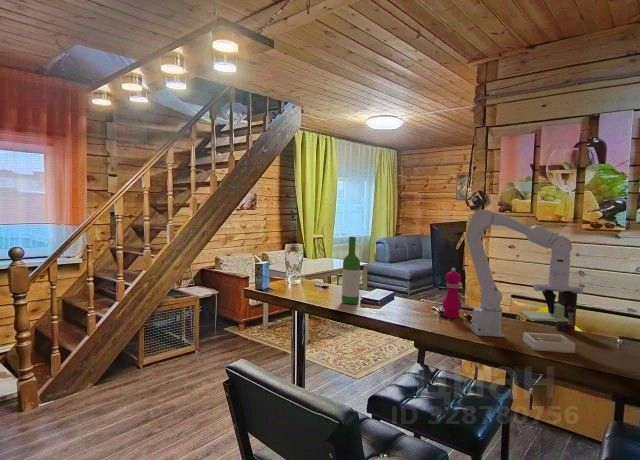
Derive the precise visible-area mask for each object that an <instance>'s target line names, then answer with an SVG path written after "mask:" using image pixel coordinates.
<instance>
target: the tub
mask: <svg viewBox="0 0 640 460" xmlns="http://www.w3.org/2000/svg"><path fill="white" fill-rule="evenodd" d="M522 337H523V338H522V341H523V342H524V343H525V344H526V345H527V347H529V348H530V347H531V348H530V349H531V350H533V351H537V352H550V353H551V352H552V353H563V354H565V353H566V354H575V352H576V342H573V341H572V340H570V339H569V338H567V337H565V336H564V335H563V334H558V333H557V334H556V333H536V332H523V334H522Z"/></svg>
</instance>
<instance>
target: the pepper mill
mask: <svg viewBox="0 0 640 460" xmlns="http://www.w3.org/2000/svg"><path fill="white" fill-rule="evenodd" d="M456 269H457V268H455V267H451V270H450V271H448V272H447V273H446V274H445V281H446V287H447V291H446V295H445V297H444V299H443V301H442V308H443V309H444V310H443V312H442V313H443V314H444V315H443V314H442V315H443V316H444V317H445V316H446V317H445V318H449V319H458V318H460V313H461V312H459V311H460V310H461V308H462V303H461V302H462V301H461V300H460V297H459V293H458V290H459V288H460V282H461V280H462V276H461V274H460V273H459V272H457V271H456Z"/></svg>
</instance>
